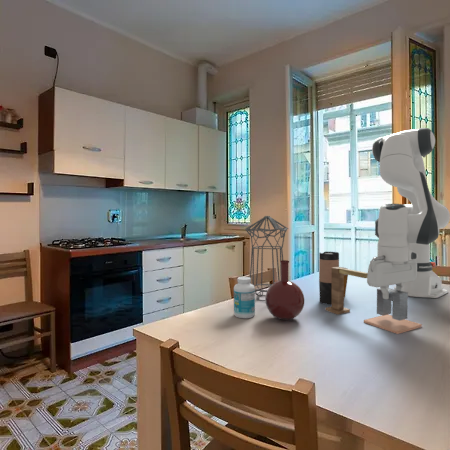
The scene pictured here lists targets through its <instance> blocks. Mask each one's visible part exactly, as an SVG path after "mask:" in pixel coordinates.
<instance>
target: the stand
mask: <svg viewBox="0 0 450 450" xmlns="http://www.w3.org/2000/svg"><path fill="white" fill-rule="evenodd" d="M341 267H342V266H339V267H332V305H330V306H326V307H325V311H326V312H329V313H332V314H334V315H342V314H343V315H344V314H347V313H350V312H351V309H350V308H347V307H345V303H344V302H345V297H344V274H346V275H348V276H350V277H351V276H353V277H356V278H362V279H367V275H368V272H365V271H358V270H354V269H349V268H348V269H344V268H345V267H344V268H341Z"/></svg>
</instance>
